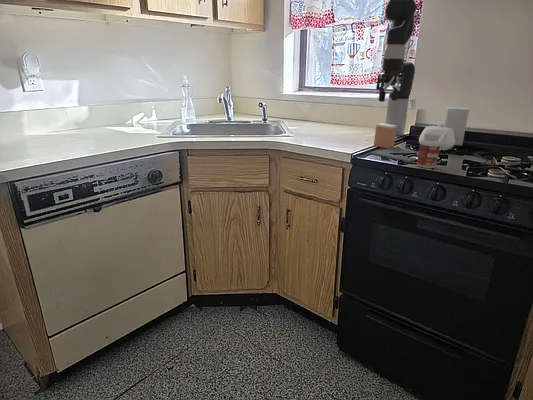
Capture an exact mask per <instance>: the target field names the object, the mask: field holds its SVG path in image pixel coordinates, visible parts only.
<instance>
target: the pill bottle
mask: <svg viewBox="0 0 533 400" xmlns="http://www.w3.org/2000/svg"><path fill="white" fill-rule="evenodd" d="M439 136H440V134H437V133H424V139H423V140H422V141H421V143H419V149H418V152H419V153H418V159H417V161H416V165H417V166H418V167H420V168H424V169H434V168H436V166H437V163H438V159H439V153H440V150H439V149H440V142H439V141H438V139H439Z"/></svg>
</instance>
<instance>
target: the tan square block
mask: <svg viewBox="0 0 533 400" xmlns="http://www.w3.org/2000/svg"><path fill="white" fill-rule="evenodd" d="M375 126H376V127H375V133H374V141H373V146H374V147H378V146H379V147H378V148H384V149H388V148H393V147H395V141H396V129H397V126H396V125H389V124H385V123H382V122H381V123H376V125H375Z"/></svg>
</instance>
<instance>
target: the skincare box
mask: <svg viewBox="0 0 533 400" xmlns="http://www.w3.org/2000/svg"><path fill="white" fill-rule="evenodd" d="M445 111H446V112H445V117H444V122H443V127H448V128H452V129H453V132H454V136H455V144H454V146H461V147H462V146H463V143H464V139H465V132H466V127H467V124H468V123H467V122H468V118H469V113H470V109H469V108H467V107H449V106H447V107H446V110H445Z"/></svg>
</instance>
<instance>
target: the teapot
mask: <svg viewBox="0 0 533 400" xmlns="http://www.w3.org/2000/svg"><path fill="white" fill-rule="evenodd" d="M442 125H444V122H439V121H438V122H436V125H427V126H425V128H424V129H423V131H422V132H421V134H420V136H419V138H418V142H419V144H420V143H421V141H422V140H423V139H424V133H437V134H440V136H439V139H438V141H439V142H440V150H439V151H441V150H443V151H448V150H450V149H451V148H453V147H454V146H455V145H454V144H455V136H454V132H453V129H452V128H448V127H444V126H442Z"/></svg>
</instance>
